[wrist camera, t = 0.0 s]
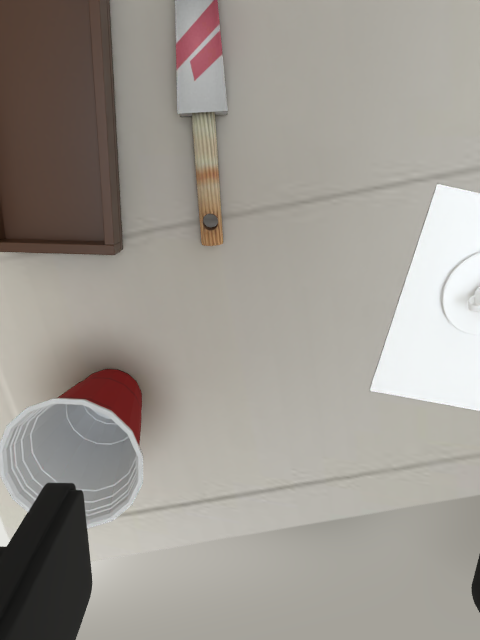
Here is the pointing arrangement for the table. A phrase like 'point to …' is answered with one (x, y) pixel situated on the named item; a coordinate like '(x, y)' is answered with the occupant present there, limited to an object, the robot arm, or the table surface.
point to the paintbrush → (202, 99)
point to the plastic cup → (79, 446)
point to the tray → (58, 129)
